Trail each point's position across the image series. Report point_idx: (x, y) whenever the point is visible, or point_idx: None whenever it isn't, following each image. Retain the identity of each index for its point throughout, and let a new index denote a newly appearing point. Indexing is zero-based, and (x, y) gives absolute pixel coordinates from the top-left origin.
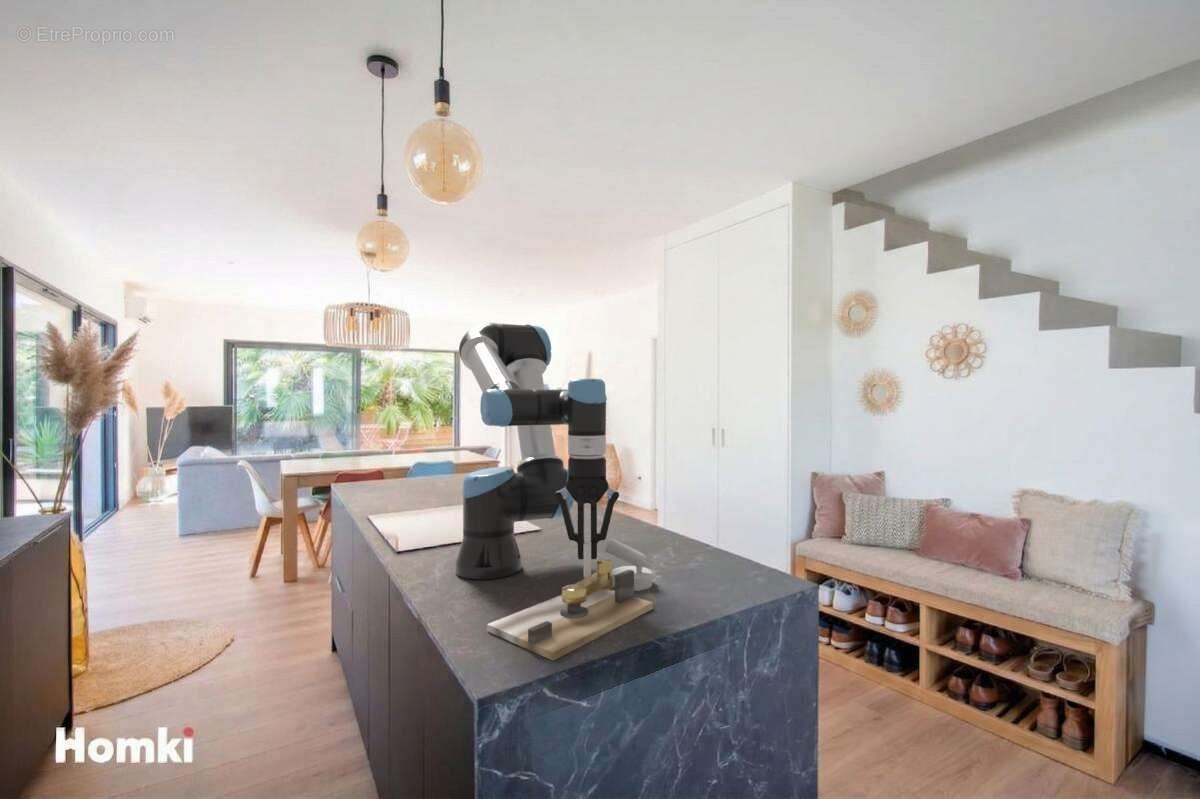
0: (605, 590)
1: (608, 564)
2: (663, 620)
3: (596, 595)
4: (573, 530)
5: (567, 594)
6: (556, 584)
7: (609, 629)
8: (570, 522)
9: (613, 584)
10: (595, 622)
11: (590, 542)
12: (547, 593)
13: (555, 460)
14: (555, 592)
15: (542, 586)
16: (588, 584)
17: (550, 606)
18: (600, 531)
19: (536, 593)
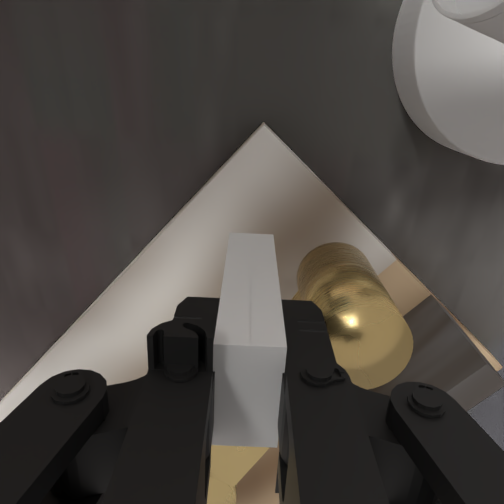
0: (336, 229)
1: (376, 380)
2: (488, 433)
3: (288, 285)
4: (71, 450)
5: None
6: (81, 15)
7: None
8: None
9: (398, 82)
10: (265, 489)
11: (275, 403)
12: (59, 156)
13: None
14: (96, 145)
15: (9, 45)
16: (246, 472)
17: (103, 375)
18: (407, 444)
19: (5, 151)
